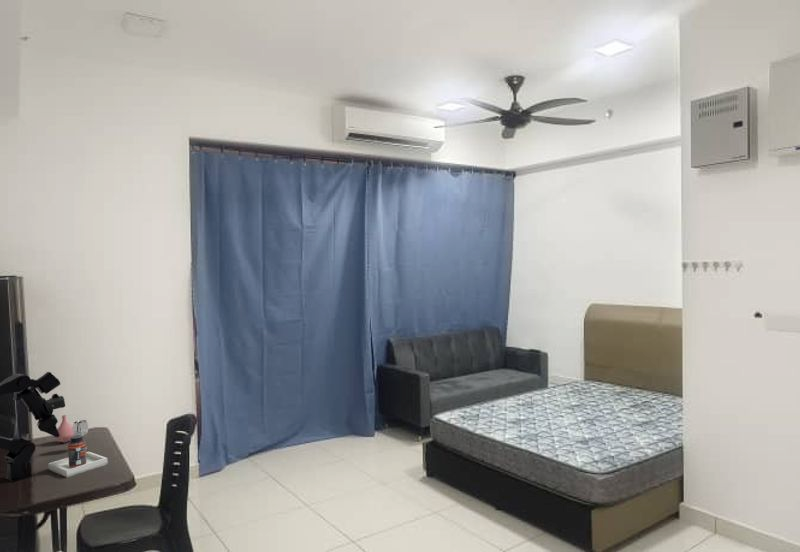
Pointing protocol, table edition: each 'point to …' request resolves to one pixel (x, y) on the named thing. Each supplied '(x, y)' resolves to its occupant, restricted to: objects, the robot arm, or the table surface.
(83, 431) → the wineglass
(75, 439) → the supplement bottle
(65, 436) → the pink vase
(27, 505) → the table surface
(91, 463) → the tray
